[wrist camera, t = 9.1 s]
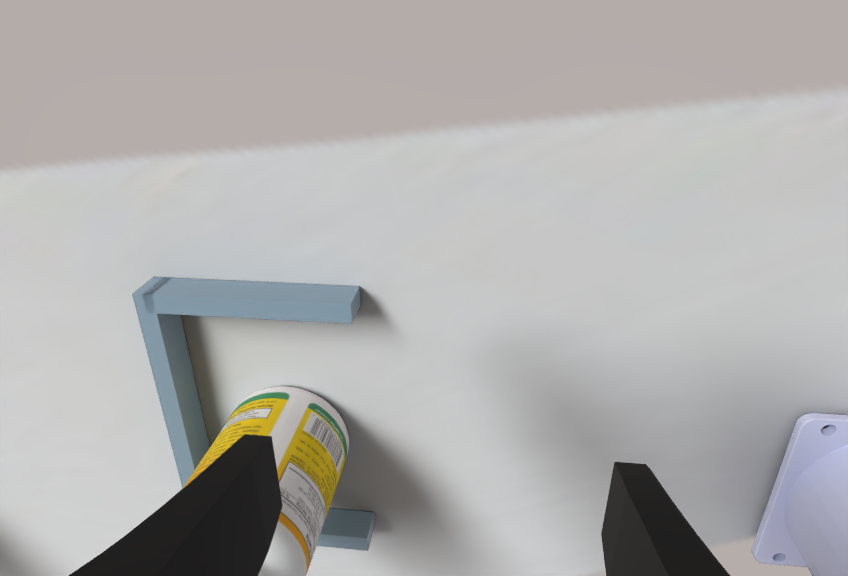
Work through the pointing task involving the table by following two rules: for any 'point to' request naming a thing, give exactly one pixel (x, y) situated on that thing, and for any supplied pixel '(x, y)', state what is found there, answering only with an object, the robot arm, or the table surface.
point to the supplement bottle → (292, 466)
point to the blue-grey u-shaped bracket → (174, 373)
